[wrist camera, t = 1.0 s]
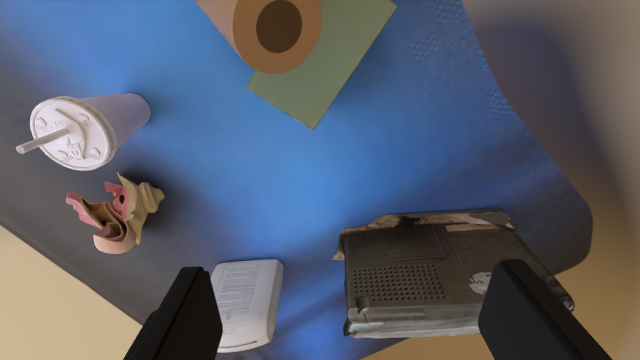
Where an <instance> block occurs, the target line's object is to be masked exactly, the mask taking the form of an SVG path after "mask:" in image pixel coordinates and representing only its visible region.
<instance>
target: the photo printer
mask: <svg viewBox="0 0 640 360" xmlns="http://www.w3.org/2000/svg"><path fill="white" fill-rule="evenodd" d="M283 274H284V267H283V265H282V263H281V262H280V261H278V260H276V259H264V260H249V261H237V262H227V263H221V264H218V265H217V266H216V267H215V269H214V271H213V274H212V276H211V278H210V279H211V283H212V286H213V290H214V294H215V298H216V302H217V306H218V309H219V313H220V317H221V321H222V325H223V333H222V338H221V341H220V344H219V347H218V351H217V352H237V351H243V350H248V349H252V348H256V347H259V346H262V345H264V344H266V343H268V342H270V341H271V340H272V338H273V333H274V329H275V325H276V318H277V312H278V305H279V299H280V293H281V287H282V280H283Z"/></svg>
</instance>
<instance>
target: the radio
mask: <svg viewBox="0 0 640 360" xmlns="http://www.w3.org/2000/svg"><path fill="white" fill-rule="evenodd" d="M515 232H518V231H517V229H516V227H515V225H514V224H513V222H512V220H511V218H510V217H509V215H508V214H506V213H503V212H502V209H485V210H467V211H449V212H431V213H414V214H396V215H384V216H383V217H380V218H376V220H375V221H373V222H372V223H370V224H369V225H366V226H362V227H355V228H347V229H344V230H343V231H342V233H341V235H340V242H339V246H338V248H337V253H336V255H335V256H334V257H333V259H332V260H344V261H345V282H344V286H345V296H346V308H347V319H346V322H345V324H344V327H343V329H344V336H348V335H350V336H352V337H353V338H403V337H430V336H445V335H450V336H458V335H461V334H481V333H480V331H479V328H478V317H479V314H480V311H481V307H482V304H483V301H484V298H485V294H486V291H487V288H488V285H489V281H490V278H491V275H492V272H493V268H494V266H495V265H496V264H498V263H499V261H500V260H502V259H522V260H524V261H525V262H526V263H527V264H528V265H529V267H530V268H531V269H532V270H533V271H534V272H535V273H536V274H537V275H538V277H539V278H540V279H541V280H542V281H543V282H544V283H545V284H546V286H547V287H548V288H549V289H550V290H551V291H552V292H553V293H554V295H555V296H556V297H557V298H558V299H559V300H560V301H561V302H562V304H563V305H564V306H565V307H566V308H567V309H568V310H569V311H570V313H572V311H573V310H574V307H575V304H574V302H573V299H572V297H571V296H570V295H569V294H568V293H567V292H566V290H565V289H564V288H563V287H562V285H561V284H560V283H559V281H558V280H557V279H556V278H555V277H554V276H553V275H552V274H551V272H550V271H548V270H547V268H546V267H545V266H544V265H543V263H542V262H541V261H540V259H539V258H538V257H537V256H536V255H535V254H534V253H533V252H532V250H531V249H530V248H529V247H528V246H527V245H526V244H525V243H524V242H523V240H522V239H521V238H520V237H519V236H518V235H517V234H515Z"/></svg>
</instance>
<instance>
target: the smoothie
mask: <svg viewBox="0 0 640 360" xmlns="http://www.w3.org/2000/svg"><path fill="white" fill-rule="evenodd" d="M150 116H151V111H150V107H149V105H148V104H147V102H146V101H145V100H144V99H143V98H142V97H141V96H139V95H137V94H134V93H122V94H113V95H103V96H94V97H85V98H73V97H65V96H59V97H55V98H52V99H50V100H46V101H44V102H41V103H40V104H38V105H37V106H36V107H35V108H34V110H33V112H32V114H31V118H30V127H31V132H32V135H33V137H34V139H35V140H32V141H30V142H27V143H24V144H22V145H19V146H17V147H16V150H17V151H18V152H19V153H25V152H27V151H30V150H32V149H35V148H37V147H40V148H41V149H42V151H43V152H44V153H45V154H46V155H48V156H49V157H50V158H51V159H53V160H54V161H55V162H57V163H59V164H61V165H63V166H65V167H68V168H70V169H74V170H80V171H88V170H93V169H96V168H98V167H100V166H103V165H104V164H106V163H108V162H109V161H110V160H111V159H112V158H113V157H114V155H115V152H116V150H117V149H118V148H119V147H120V146H121V145H122V144H123V143H125V142H126V141H127V140H128V139H129V138H130V137H131V136H132V135H133V134H135V133H136V132H137V131H138V130H139V129H140V128H141V127H142V126H143V125H145V124H146V123H147V122H148V121H149V119H150Z"/></svg>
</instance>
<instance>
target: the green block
mask: <svg viewBox="0 0 640 360" xmlns="http://www.w3.org/2000/svg"><path fill="white" fill-rule="evenodd" d="M319 3H320V7H321V18H322V21H321V29H320V34H319V37H318V40H317V42H316V45H315V47H314V48H313V50H312V52H311V53H310V55H309V56H308V57H307V58H306V59H305V60H304V61H303V62H302V63H301V64H300V65H298V66H297V67H295V68H294V69H292V70H290V71H287V72H284V73H280V74H266V73H262V72H259V71H257V70H255V72H254V73H253V75H252V77H251V79H250V81H249V83H248V85H247V86H246V88H247V89H249V90H250V91H252V92H254V93H255V94H257V95H258V96H260V97H261V98H263V99H265V100H266V101H268V102H269V103H271V104H272V105H274V106H275V107H277V108H279V109H280V110H282V111H283V112H285V113H286V114H288V115H290V116H291V117H293V118H294V119H296V120H297V121H299V122H301V123H302V124H304V125H305V126H307V127H308V128H310V129H312V130H314V129H315V128H316V126H317V125H318V123H319V122H320V120H321V119H322V117H323V116H324V114H325V113H326V111H327V110H328V108H329V107H330V105H331V104H332V103H333V101H334V100H335V98H336V97H337V95H338V94H339V92H340V91H341V89H342V88H343V86H344V85H345V83H346V82H347V80H348V79H349V77H350V76H351V74H352V73H353V72H354V70H355V69H356V67H357V66H358V64H359V63H360V61H361V60H362V58H363V57H364V55H365V54H366V52H367V51H368V49H369V48H370V46H371V45H372V43H373V42H374V41H375V39H376V38H377V36H378V35H379V33H380V32H381V30H382V29H383V27H384V26H385V24H386V23H387V21H388V20H389V18H390V17H391V15H392V14H393V12H394V11H395V10H396V8H397V6H396V5H395V4H394V3H393V2H392V1H390V0H319Z"/></svg>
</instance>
